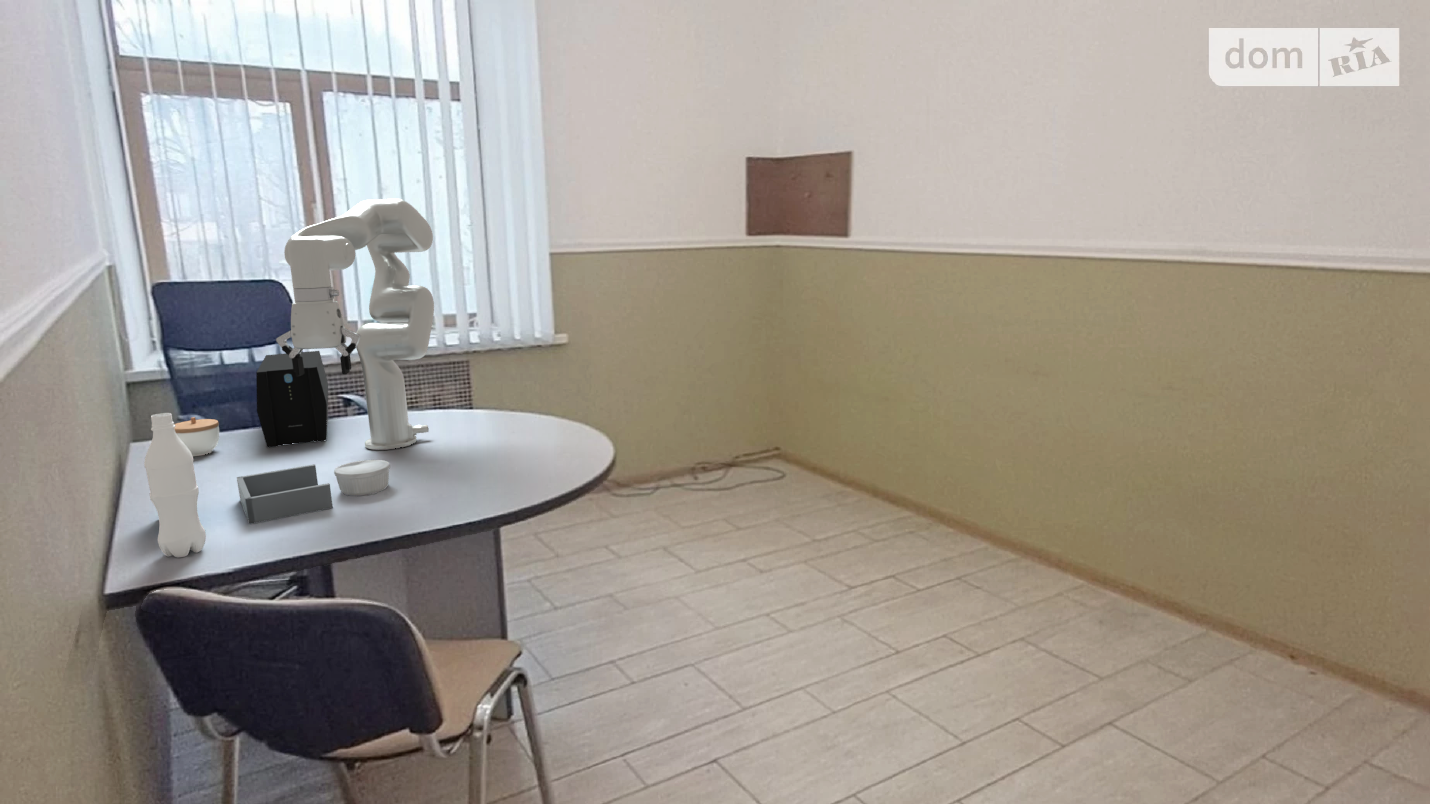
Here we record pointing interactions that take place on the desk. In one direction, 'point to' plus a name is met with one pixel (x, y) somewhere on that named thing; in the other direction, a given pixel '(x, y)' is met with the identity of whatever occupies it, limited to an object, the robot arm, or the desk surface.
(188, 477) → the water bottle
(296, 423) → the uninterruptible power supply
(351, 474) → the ramekin
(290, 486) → the box
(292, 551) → the desk surface
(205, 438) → the lidded jar
